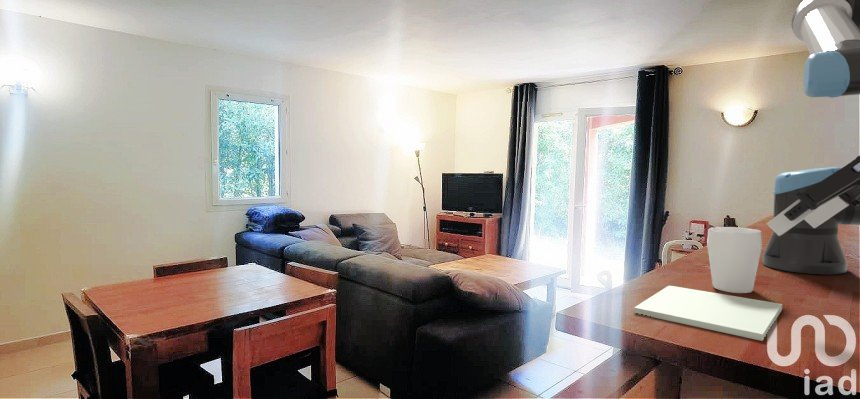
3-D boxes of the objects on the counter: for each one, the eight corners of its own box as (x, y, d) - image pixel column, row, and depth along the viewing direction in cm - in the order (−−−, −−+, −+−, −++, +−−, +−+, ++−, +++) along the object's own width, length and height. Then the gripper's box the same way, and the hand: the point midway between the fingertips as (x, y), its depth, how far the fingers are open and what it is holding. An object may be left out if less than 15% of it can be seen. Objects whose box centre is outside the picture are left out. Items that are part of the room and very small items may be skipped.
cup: (770, 296, 83) (772, 233, 82) (717, 294, 85) (719, 233, 84) (746, 283, 92) (747, 226, 91) (698, 282, 94) (700, 226, 93)
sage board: (668, 290, 88) (669, 285, 88) (782, 309, 76) (782, 304, 76) (634, 313, 76) (634, 307, 76) (762, 341, 63) (762, 334, 63)
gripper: (916, 153, 56) (775, 251, 70) (968, 151, 68) (838, 235, 82) (862, 116, 60) (739, 215, 74) (920, 121, 72) (805, 205, 87)
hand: (791, 226), depth 78 cm, fingers open, 13 cm apart
